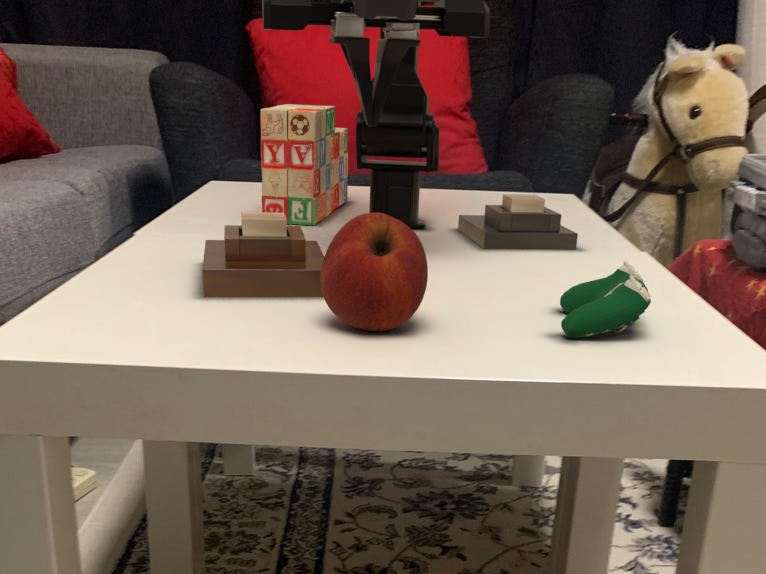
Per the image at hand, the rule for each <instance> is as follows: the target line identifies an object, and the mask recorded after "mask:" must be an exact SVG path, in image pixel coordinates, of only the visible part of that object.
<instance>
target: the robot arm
mask: <svg viewBox="0 0 766 574" xmlns="http://www.w3.org/2000/svg"><path fill="white" fill-rule="evenodd" d="M421 3H433V6H422V4H421ZM352 9H353V12H352ZM261 11H262V13H261V14H262V30H265V31H267V30H269V31H291V32H292V31H294V32H295V31H296V32H299V31H304V30H305V29H306V27H308V26H327V27H328V28H329V29H328V30H329V31H331V36H328V43H329V44H331V45H333V44H334V45H339V46H340V48H341V51H342V53H343V55H344V58H345V60H346V62H347V65H348V67H349V69H350V72H351V75H352V78H353V81H354V84H355V88H356V91H357V95H358V99H359V102H360V105H361V110H358V111H357V114H356V119H355V120H356V121H355V122H356V123H355V147H356V150H355V151H356V170H363V169H364V170H370V175H369V177H370V178H369V211H368V213H383V214H386V215H389V216H391V217H393V218H395V219H398V220H400V221H401V222H403V223H404V224H405V225H407V226H408V227H409V228H410V229H426V228H427V227H426V226H427V225H426V222H424V221H423V220H422V219H420V218H419V214H420V211H419V210H420V195H421V194H420V193H421V192H420V191H421V189H420V188H421V172H425V173H429V174H431V173H435V172H438V171H439V163H440V127H439V126H438V125H437V123H436V120H435V114H434V113H430V98H429V96H428V94H427V91H426V90H425V87H424V85H423V83H422V81H421V78H420V76H419V74H418V61H419V47H421V43H422V40H421V39H420V33H421V30H431V31H432V30H433V31H435V32H436V34H437V35H438V37H455V38H458V37H459V38H489V35H490V21H491V13H490V8H489V6H488V5H487V3H486V2H485V0H340V2H324V1H322V2H321V1H313V0H261ZM366 28H378V29H379V28H380V30H379V32H380V33H379V38H378V39H377V47H376V56H375V57H376V58H375V65H374V66H375V67H374V75H373V77H372V74H371V61H370V53H371V52H370V51H371V50H370V46H371V45H370V40H371V39H370V38H369V37H365V32H366V30H367V29H366ZM368 157H383V158H385V157H386V158H404V159H407V158H408V159H425V161H409V160H407V161H406V160H388V159H387V160H386V159H368Z"/></svg>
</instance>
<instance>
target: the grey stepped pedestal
mask: <svg viewBox="0 0 766 574" xmlns="http://www.w3.org/2000/svg"><path fill="white" fill-rule="evenodd" d="M561 223H562V214H561V213H559V212H557V211H555V210H553V209H550V208H548V207H547V206H544V213H537V212H508V211H506V210H504V209H502V204H485V206H484V214H459V215H458V224H457V231H458V232H460V233H461V234H463V235H464V236H465V237H467V238H468V239H469V240H470V241H472V242H473V243H475V244H476V245H477V246H478V247H480V248H482V250H528V251H529V250H531V251H532V250H538V251H540V250H543V251H544V250H548V251H549V250H551V251H552V250H553V251H554V250H556V251H576V250H577V244H578V236H579V234H578V232H575V231H573V230H571V229H570V228H568V227H565V226H564V225H562V224H561Z"/></svg>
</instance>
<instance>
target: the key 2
mask: <svg viewBox="0 0 766 574" xmlns="http://www.w3.org/2000/svg"><path fill="white" fill-rule="evenodd" d="M545 204H546V199H545V198H543V197H542V196H539V195H536V194H526V193H525V194H522V193H521V194H518V193H503V194H502V202H501V205H502V209H504V210H506V211H508V212H537V213H544V207H545Z"/></svg>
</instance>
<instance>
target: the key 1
mask: <svg viewBox="0 0 766 574" xmlns="http://www.w3.org/2000/svg"><path fill="white" fill-rule="evenodd" d="M240 214H241V226H242V236H287V226H288V224H287V219H286V217H285V214H284V213H264V212H262V211H260V212H257V211H256V212H255V211H253V212H252V211H251V212H249V211H248V212H247V211H243V212H241V213H240Z"/></svg>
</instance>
